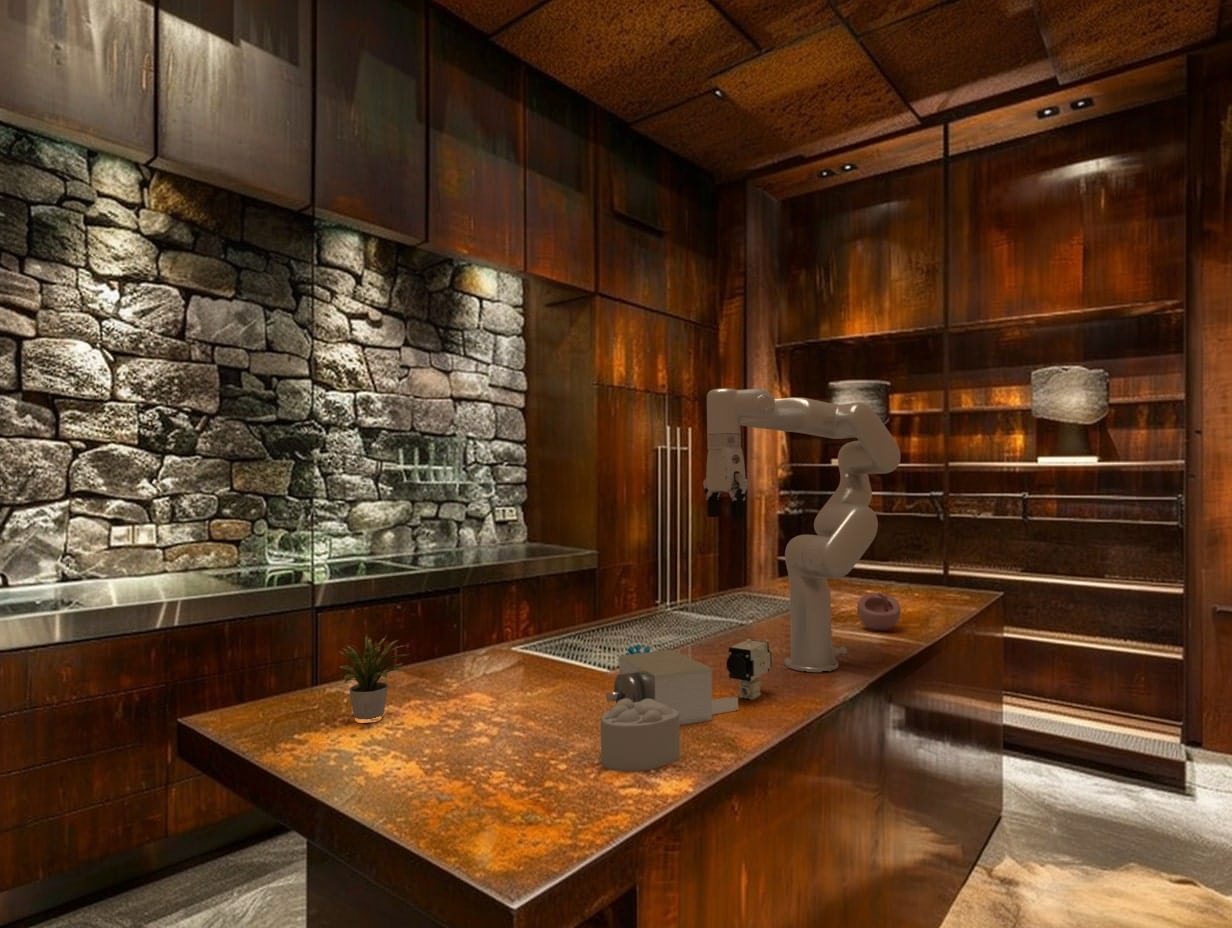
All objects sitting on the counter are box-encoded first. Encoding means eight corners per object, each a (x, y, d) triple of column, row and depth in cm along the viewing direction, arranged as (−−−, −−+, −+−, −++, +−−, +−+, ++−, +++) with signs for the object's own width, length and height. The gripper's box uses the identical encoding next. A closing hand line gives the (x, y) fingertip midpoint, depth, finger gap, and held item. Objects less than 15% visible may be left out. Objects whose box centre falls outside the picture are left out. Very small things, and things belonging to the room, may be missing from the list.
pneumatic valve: (726, 702, 143) (725, 643, 144) (752, 688, 153) (751, 632, 153) (750, 707, 140) (749, 647, 140) (776, 693, 149) (775, 636, 150)
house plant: (371, 739, 125) (371, 646, 126) (310, 730, 130) (310, 641, 131) (420, 713, 139) (419, 630, 139) (363, 706, 144) (362, 626, 144)
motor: (702, 691, 151) (701, 645, 151) (745, 714, 136) (744, 663, 136) (592, 708, 140) (591, 659, 141) (625, 734, 126) (624, 679, 126)
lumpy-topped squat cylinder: (688, 758, 115) (687, 705, 115) (624, 778, 108) (623, 721, 108) (648, 739, 124) (647, 690, 124) (586, 757, 116) (586, 704, 116)
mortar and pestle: (861, 634, 204) (860, 594, 204) (854, 625, 216) (853, 588, 216) (905, 635, 202) (904, 595, 202) (895, 626, 214) (894, 588, 214)
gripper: (759, 441, 155) (761, 518, 155) (717, 445, 171) (718, 515, 171) (730, 440, 152) (732, 520, 152) (690, 444, 168) (691, 516, 167)
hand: (725, 517), depth 161 cm, fingers open, 9 cm apart
